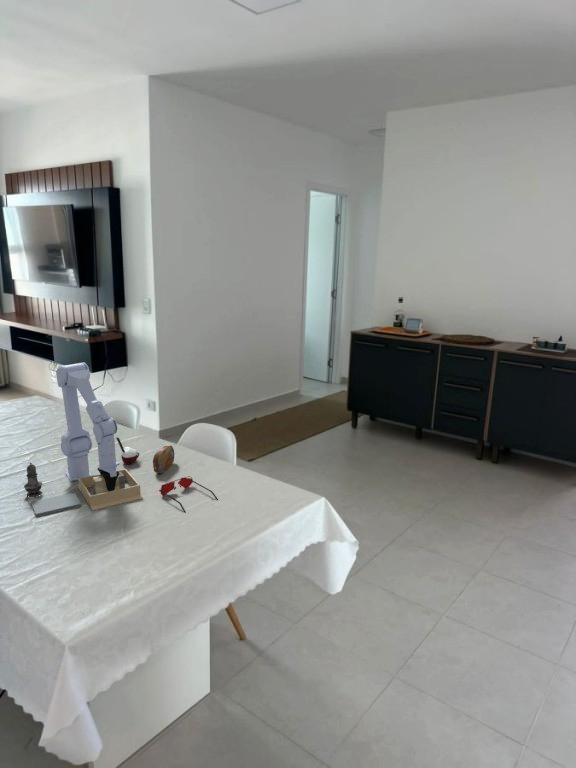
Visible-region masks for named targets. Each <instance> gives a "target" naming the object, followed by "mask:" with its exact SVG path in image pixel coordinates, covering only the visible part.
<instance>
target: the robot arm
mask: <svg viewBox="0 0 576 768" xmlns="http://www.w3.org/2000/svg"><path fill="white" fill-rule="evenodd" d="M55 372H56V373H55V374H56V383H57V387H59V388H60V389H61V392H62V400H63V406H64V413H65V419H66V426H67V430H66V431H65V432H64V433H63V434H61V440H60V441H61V443H60V449H61V452H62V454H63V455H64V456H65V457H66V462H67V463H66V464H67V471H65V474H66V476H67V478H68V480H69V481H70V482H74V481H79V478H83V477H88V476H93V475H92V473H91V471H90V467H89V466H90V464H89V454H90V451H91V450H92V448H93V441H92V439H91V436H90V432H89V431H88V430H87V429H84V428H83V424H82V418H81V417H82V416H81V411H80V409H81V408H80V402H79V396H78V392H79V394H80V395H81V397H82V398H83V400H84V402H85V403H86V407H85V410H86V413H87V414H88V416H89V418H90V420H91V422H92V424H93V427H92V431H93V435H94V438H95V442H96V443H97V455H98V456H97V457H98V467H97V471H98V472H99V474H101V476H103V477H104V479H105V482H106V486H107V490H108V492H109V491H114V490H115V484H116V480H117V478H118V476H119V472H118V471H117V466H120V465H121V463H120V461H117V459H116V458H117V457H116V456H117V455H116V454H117V453H116V441H115V434H117V433H118V425H117V422H116V420H115V419H114V418H113V417H112V416H111V415H109V414H108V412H107V410H106V408H105V406H104V404H103V402H102V401H101V400H97V397H96V395H95V393H94V390H93V387H92V384H91V382H90V377H91V371H90V367H89V366H88V364H87V363H86V362H78V363H74V364H73V363H72V364H65V365H59V366H58V368H57V369H56V370H55ZM116 471H117V472H116Z"/></svg>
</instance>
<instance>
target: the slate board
mask: <svg viewBox="0 0 576 768" xmlns="http://www.w3.org/2000/svg"><path fill="white" fill-rule="evenodd" d="M30 504H31V507H32V510H33V513H34V512H35V513H34V515H35V517H37V516H38V517H41V516H46V515H49V514H53V513H59V512H63V511H66V510H71V509H76V508H81V507H82V503H81V501H80V499H79V497H78V496H77V494H76V492H71V493H65V494H61V495H60V494H59V495H56V496H51V497H47V498H44V499H43V498H42V499H39V500H34V501H31V502H30Z"/></svg>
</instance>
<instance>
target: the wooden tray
mask: <svg viewBox="0 0 576 768" xmlns="http://www.w3.org/2000/svg"><path fill="white" fill-rule="evenodd" d="M117 471H118V472H122V473H123V475H124V478H125V482H127V483H128V484H129V486H128V487H125V488H123V489H118V490H114V491H109V492H105V493H100V494H96V495H95V494H91V493H90V491H89V490H88V488H91V487H92V488H93V477H98V476H101V474H100V473H99V474H93V475H92V476H88V477H83V478H79V480H78V484H77V488H78V489H79V490H80V492H81V494H82V496H83V497H84V499H85V500H86V503H88V505H89V508H91V511H96V510H100V509H104V508H108V507H113V506H116V505H117V506H118V505H120V504H121V505H122V504H125V503H126V504H127V503H129V502H134V501H137V500H141V499H142V500H143V498H144V497H143V496H142V493H141V484H140V483H139V482H138V481H137V480H136V479H135V478H134V476H132V474H131V473H130V472H129V471H128V470H127V469H126V468H123V469H116V472H117Z"/></svg>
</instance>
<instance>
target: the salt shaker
mask: <svg viewBox="0 0 576 768" xmlns="http://www.w3.org/2000/svg"><path fill="white" fill-rule="evenodd" d="M38 476H39V475H38V473H37V468H36V465H35V464H32V462H30V463H29V465H27V466H26V478H27V483H25V484H24V485H23V488H24V490H25V491H26V492H27V493H26V494H25V496H26V495H27V497H26V498H28V496H29V497H34V498H37V497H36V496H38V497H39V495H40V496H41V494H42V495H43V491H42V490H41V489H42V485H43V482H42V481H38Z"/></svg>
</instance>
